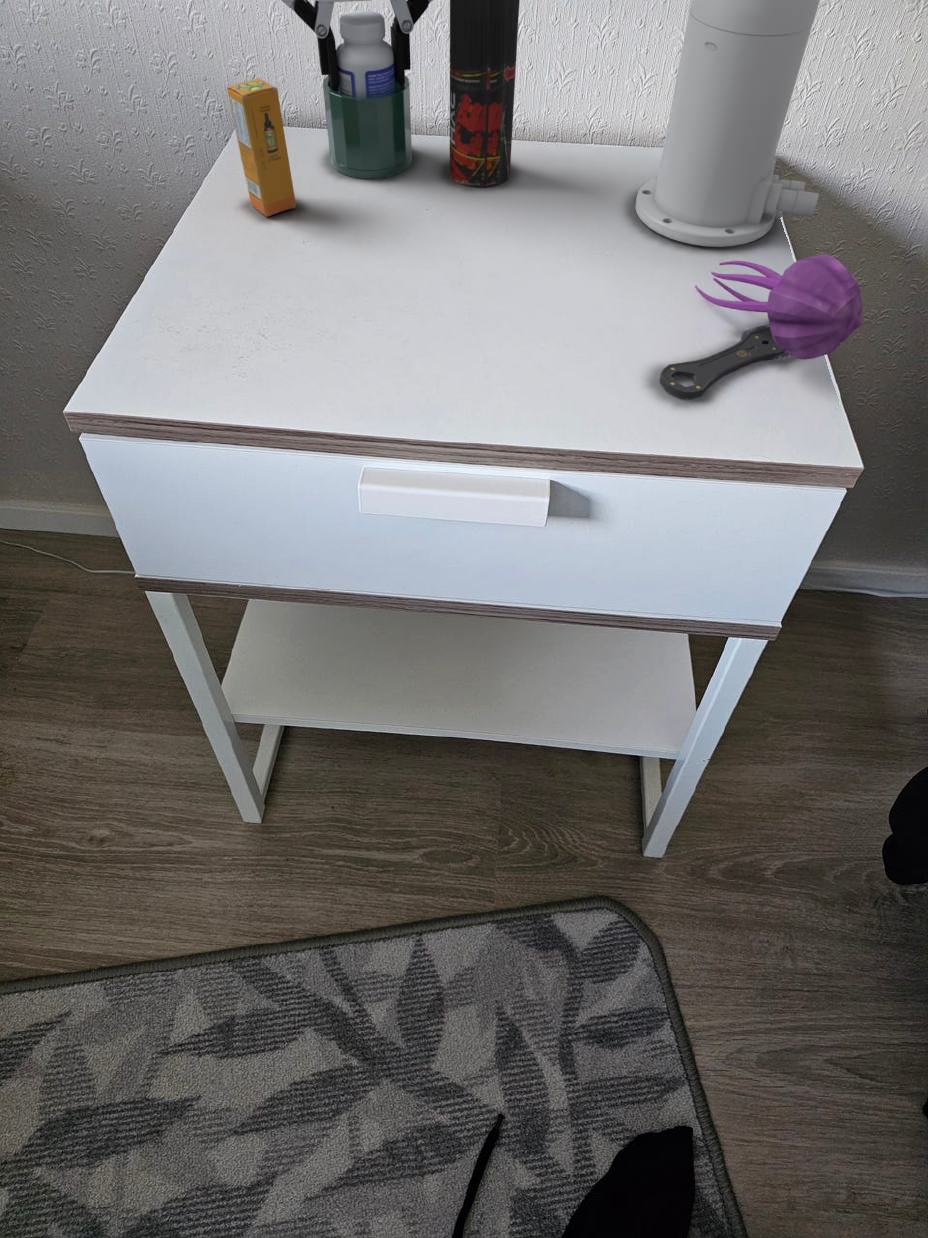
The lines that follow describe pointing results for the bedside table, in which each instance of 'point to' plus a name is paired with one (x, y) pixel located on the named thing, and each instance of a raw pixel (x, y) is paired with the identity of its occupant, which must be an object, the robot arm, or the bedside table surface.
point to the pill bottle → (364, 56)
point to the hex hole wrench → (722, 363)
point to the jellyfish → (802, 303)
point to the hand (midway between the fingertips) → (366, 78)
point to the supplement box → (262, 145)
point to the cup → (369, 132)
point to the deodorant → (482, 89)
